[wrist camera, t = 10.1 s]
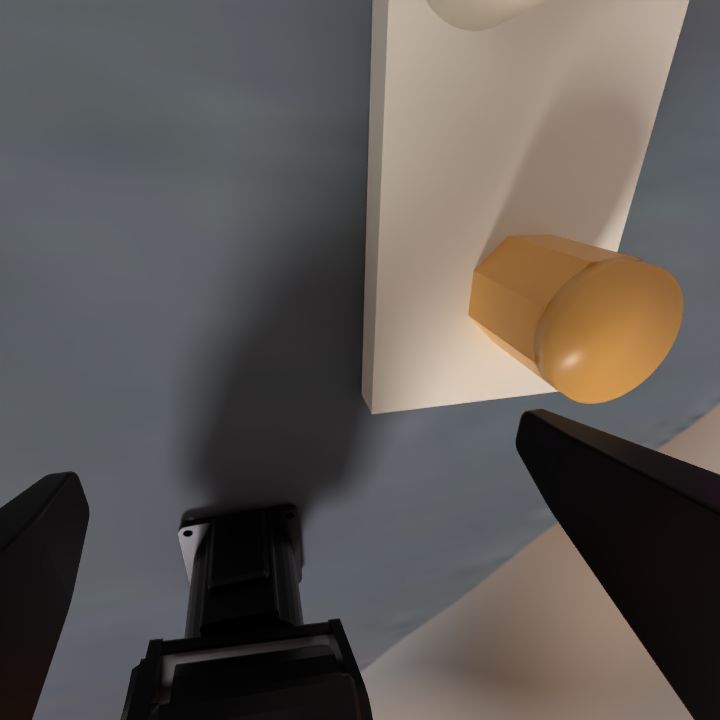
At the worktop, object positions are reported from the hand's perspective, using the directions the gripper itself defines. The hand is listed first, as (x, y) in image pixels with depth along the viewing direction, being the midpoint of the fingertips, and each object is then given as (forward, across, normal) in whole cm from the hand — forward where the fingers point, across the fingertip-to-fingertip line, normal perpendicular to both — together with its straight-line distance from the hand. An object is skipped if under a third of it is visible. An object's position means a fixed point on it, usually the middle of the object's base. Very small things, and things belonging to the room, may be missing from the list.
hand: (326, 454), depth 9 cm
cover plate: (+12, -10, -4) cm, 16 cm away
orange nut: (+10, -11, 0) cm, 15 cm away
